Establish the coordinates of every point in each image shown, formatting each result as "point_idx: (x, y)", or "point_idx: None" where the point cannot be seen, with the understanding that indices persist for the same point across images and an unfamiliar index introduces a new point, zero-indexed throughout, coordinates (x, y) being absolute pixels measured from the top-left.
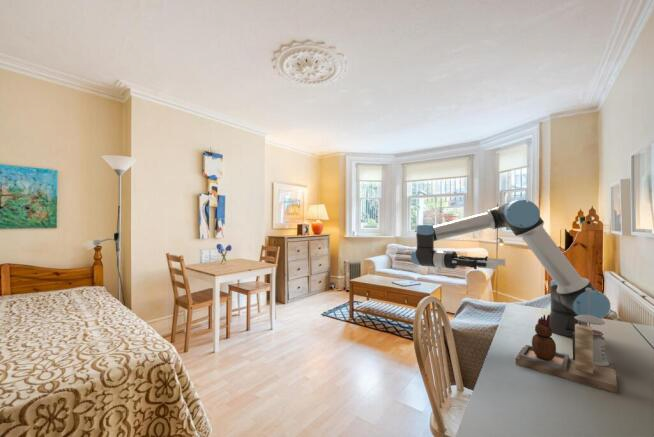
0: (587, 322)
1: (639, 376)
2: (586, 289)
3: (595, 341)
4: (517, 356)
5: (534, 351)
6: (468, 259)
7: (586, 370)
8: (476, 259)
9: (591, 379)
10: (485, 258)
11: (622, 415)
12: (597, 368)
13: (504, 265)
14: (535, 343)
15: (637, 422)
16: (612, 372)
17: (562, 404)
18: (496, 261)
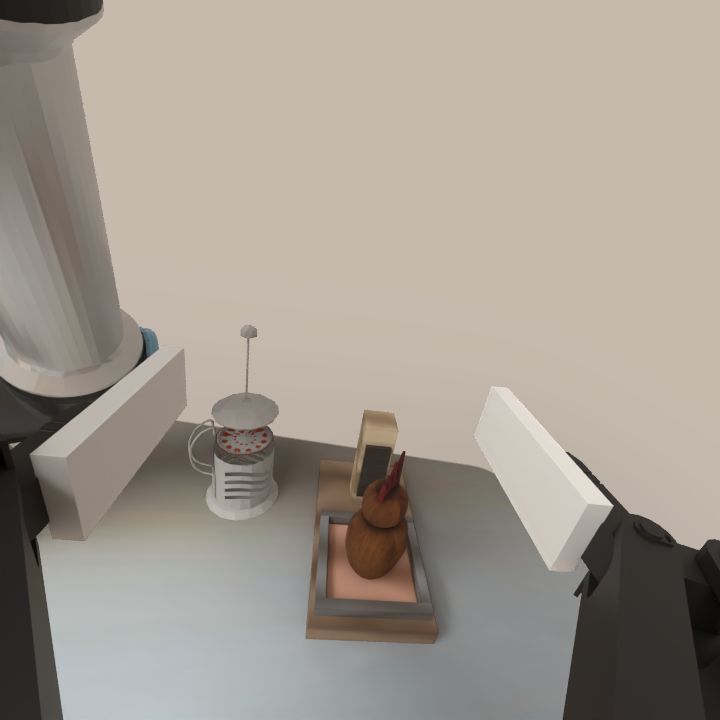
0: (276, 416)
1: (290, 444)
2: (252, 333)
3: (273, 444)
4: (421, 628)
5: (383, 573)
6: (634, 708)
7: None
8: (40, 677)
9: (406, 492)
10: (16, 489)
11: (471, 481)
12: (339, 479)
13: (184, 403)
14: (399, 549)
15: (472, 471)
16: (341, 463)
17: (530, 540)
18: (147, 413)
